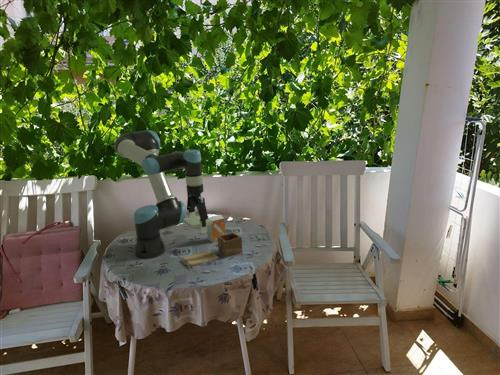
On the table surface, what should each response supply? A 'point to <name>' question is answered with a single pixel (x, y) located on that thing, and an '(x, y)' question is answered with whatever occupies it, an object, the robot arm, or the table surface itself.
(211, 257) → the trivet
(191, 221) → the lid
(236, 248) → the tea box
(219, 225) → the small box
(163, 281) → the table surface
